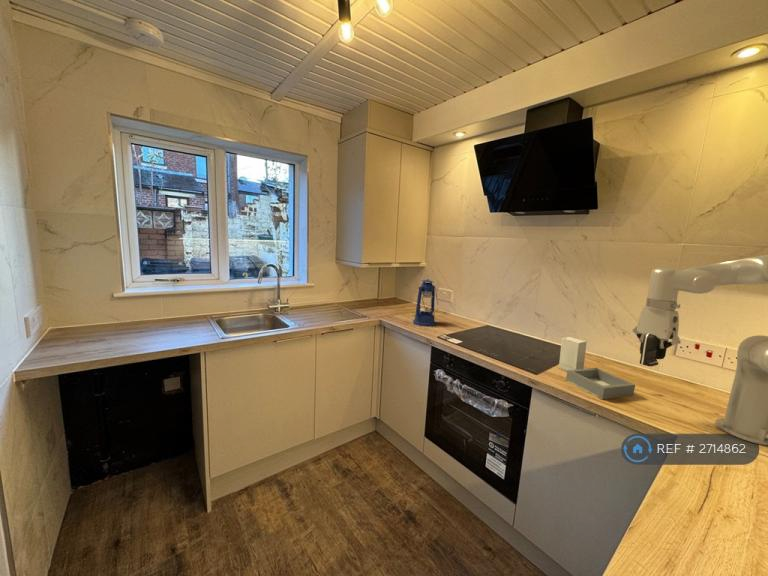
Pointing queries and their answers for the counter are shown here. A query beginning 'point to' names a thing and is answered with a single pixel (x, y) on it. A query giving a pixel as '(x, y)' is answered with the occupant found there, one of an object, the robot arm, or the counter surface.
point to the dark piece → (649, 350)
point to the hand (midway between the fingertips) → (651, 355)
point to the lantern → (426, 314)
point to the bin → (600, 383)
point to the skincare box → (572, 354)
